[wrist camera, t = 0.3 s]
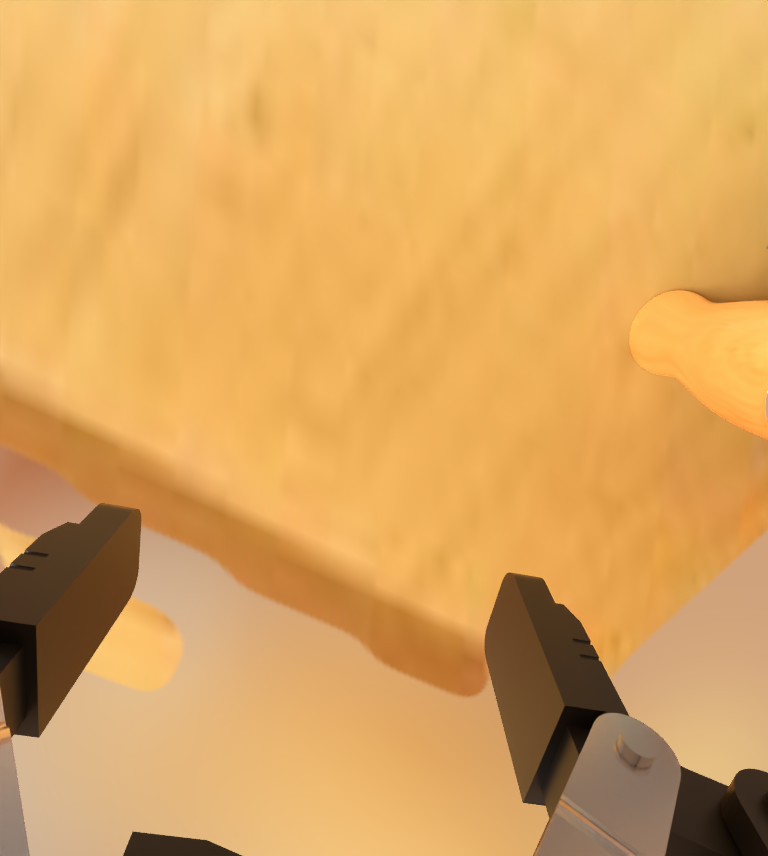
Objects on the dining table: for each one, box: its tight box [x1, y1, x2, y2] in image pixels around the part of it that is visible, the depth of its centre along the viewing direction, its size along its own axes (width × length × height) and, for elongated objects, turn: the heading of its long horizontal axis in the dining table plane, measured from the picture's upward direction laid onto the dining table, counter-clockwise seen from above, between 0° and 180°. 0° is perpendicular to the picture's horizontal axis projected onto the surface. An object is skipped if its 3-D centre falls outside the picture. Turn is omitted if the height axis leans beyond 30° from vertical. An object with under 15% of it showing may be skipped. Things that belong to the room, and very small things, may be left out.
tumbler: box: [629, 290, 768, 440], centre depth 32 cm, size 7×7×15 cm
